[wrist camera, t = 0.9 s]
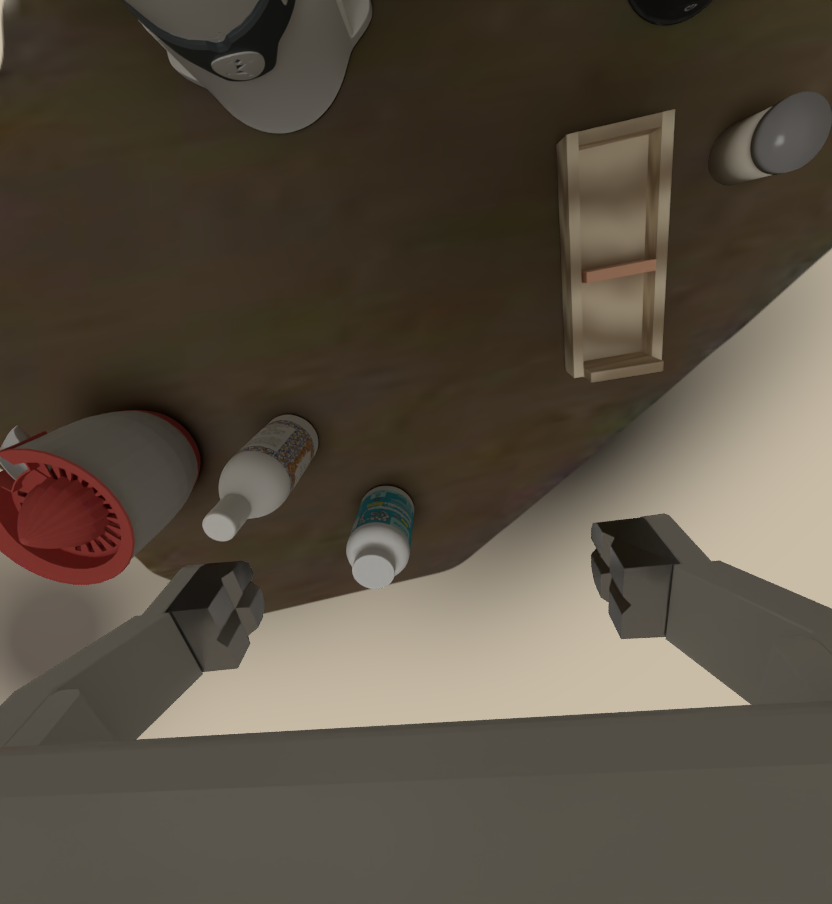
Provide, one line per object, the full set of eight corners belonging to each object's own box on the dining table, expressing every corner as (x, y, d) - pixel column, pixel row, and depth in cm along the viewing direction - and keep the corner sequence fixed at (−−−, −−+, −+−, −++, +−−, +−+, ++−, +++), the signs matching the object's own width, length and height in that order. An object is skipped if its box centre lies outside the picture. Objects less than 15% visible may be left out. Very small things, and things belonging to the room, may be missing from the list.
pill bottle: (422, 493, 56) (417, 558, 44) (404, 535, 59) (395, 606, 47) (369, 475, 55) (349, 536, 43) (354, 519, 58) (332, 587, 46)
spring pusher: (577, 271, 43) (586, 272, 40) (642, 259, 42) (656, 259, 39) (577, 282, 43) (587, 283, 40) (641, 269, 42) (655, 270, 40)
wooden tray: (556, 144, 39) (574, 126, 34) (655, 121, 38) (691, 98, 33) (565, 370, 48) (581, 384, 43) (646, 356, 47) (673, 369, 42)
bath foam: (309, 470, 56) (246, 571, 37) (260, 449, 55) (170, 542, 36) (327, 427, 53) (268, 513, 35) (275, 404, 52) (187, 480, 34)
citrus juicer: (130, 358, 50) (-45, 412, 32) (240, 458, 55) (143, 553, 37) (66, 434, 55) (-118, 518, 37) (173, 520, 60) (57, 631, 42)
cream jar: (710, 127, 38) (764, 100, 32) (771, 113, 38) (838, 83, 31) (704, 192, 40) (754, 179, 34) (762, 180, 40) (823, 164, 33)
